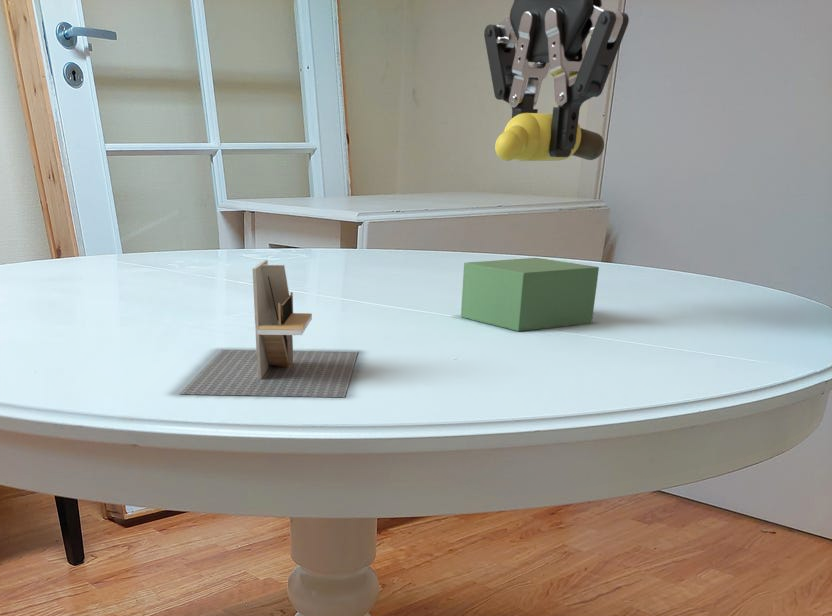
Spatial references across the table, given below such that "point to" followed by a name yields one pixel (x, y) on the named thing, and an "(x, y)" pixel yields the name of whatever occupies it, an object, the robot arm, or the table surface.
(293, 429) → the table surface
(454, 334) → the table surface
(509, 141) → the knobbed yellow capsule
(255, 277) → the architectural model
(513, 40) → the robot arm
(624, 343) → the table surface
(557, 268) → the block
